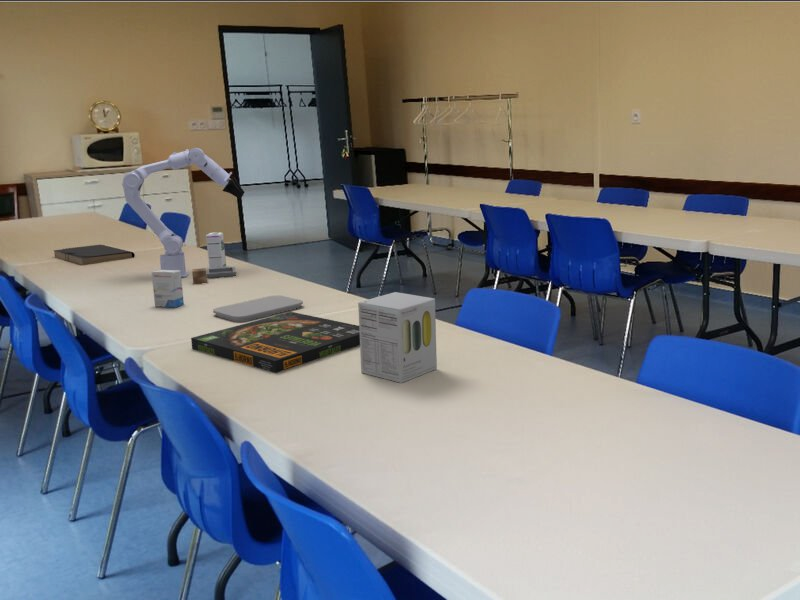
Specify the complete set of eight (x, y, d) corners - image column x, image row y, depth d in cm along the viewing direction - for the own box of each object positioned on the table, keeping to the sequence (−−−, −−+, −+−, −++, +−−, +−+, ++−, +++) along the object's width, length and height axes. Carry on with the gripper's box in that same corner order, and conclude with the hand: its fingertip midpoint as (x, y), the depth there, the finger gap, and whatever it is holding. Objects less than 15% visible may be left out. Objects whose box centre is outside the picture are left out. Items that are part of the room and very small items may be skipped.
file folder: (52, 249, 373) (104, 243, 389) (53, 258, 374) (105, 251, 390) (80, 257, 349) (134, 250, 365) (81, 266, 350) (135, 259, 366)
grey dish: (207, 278, 312) (206, 274, 311) (206, 273, 322) (206, 269, 322) (236, 276, 314) (235, 271, 314) (234, 271, 325) (234, 266, 324)
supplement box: (401, 384, 185) (398, 309, 181) (360, 373, 193) (356, 301, 189) (438, 369, 194) (436, 297, 190) (397, 359, 203) (394, 291, 199)
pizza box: (376, 341, 221) (375, 329, 220) (276, 374, 196) (275, 360, 195) (291, 323, 244) (290, 311, 243) (192, 350, 219) (191, 337, 218)
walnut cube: (193, 284, 302) (192, 271, 301) (193, 282, 307) (192, 269, 306) (207, 283, 303) (206, 270, 302) (207, 281, 308) (205, 268, 307)
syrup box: (223, 269, 329) (220, 234, 326) (208, 270, 330) (205, 234, 326) (226, 266, 335) (223, 231, 332) (212, 267, 335) (209, 232, 332)
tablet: (209, 316, 255) (208, 309, 254) (276, 301, 272) (276, 294, 272) (239, 324, 243) (238, 317, 243) (307, 308, 261) (306, 301, 261)
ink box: (185, 304, 271) (181, 269, 268) (176, 308, 266) (172, 272, 263) (163, 303, 273) (159, 268, 271) (154, 306, 269) (150, 271, 266)
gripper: (220, 165, 305) (248, 190, 309) (223, 162, 319) (250, 185, 323) (207, 179, 306) (236, 204, 310) (211, 175, 320) (238, 199, 324)
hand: (242, 195), depth 316 cm, fingers open, 7 cm apart
